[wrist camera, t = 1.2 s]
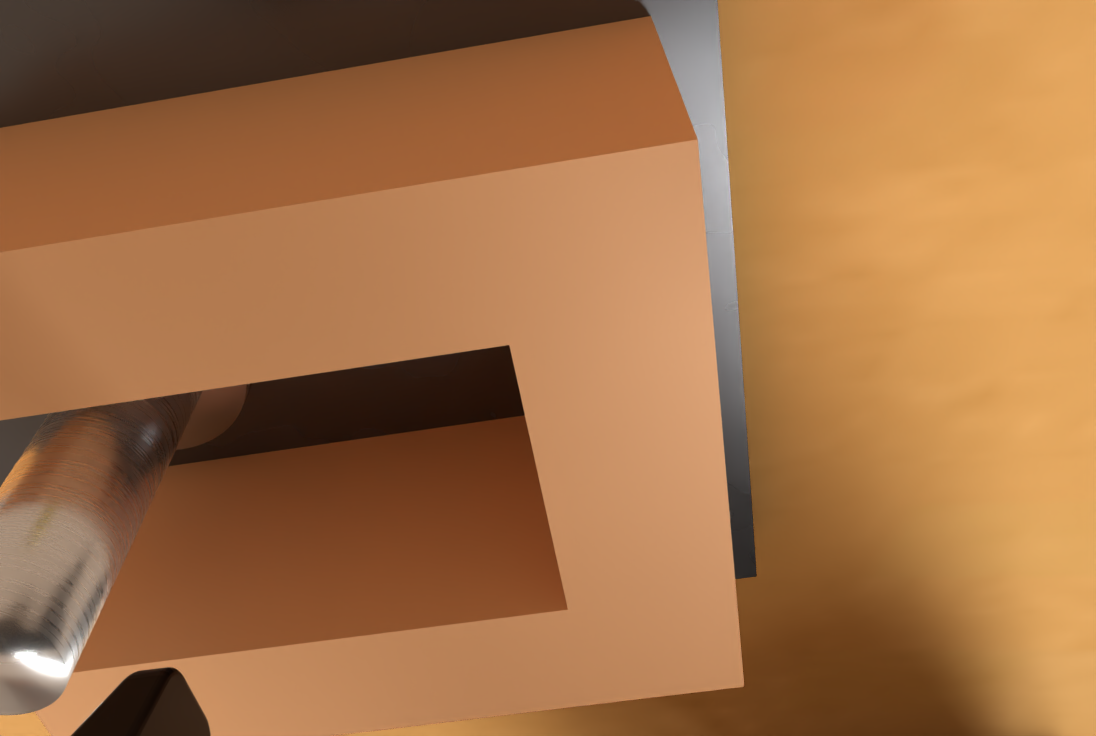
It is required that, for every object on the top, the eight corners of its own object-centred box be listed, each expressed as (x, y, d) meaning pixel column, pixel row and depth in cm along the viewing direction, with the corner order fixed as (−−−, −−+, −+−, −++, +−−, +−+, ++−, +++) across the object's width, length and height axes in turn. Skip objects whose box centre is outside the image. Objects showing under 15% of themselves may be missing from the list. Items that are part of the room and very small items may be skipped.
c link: (699, 482, 16) (744, 686, 13) (162, 555, 17) (73, 766, 14) (650, 15, 12) (697, 140, 9) (-57, 137, 13) (-261, 294, 9)
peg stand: (746, 535, 18) (838, 892, 13) (112, 619, 19) (-50, 984, 14) (690, -222, 12) (831, -147, 6) (-276, -39, 12) (-887, 167, 7)
